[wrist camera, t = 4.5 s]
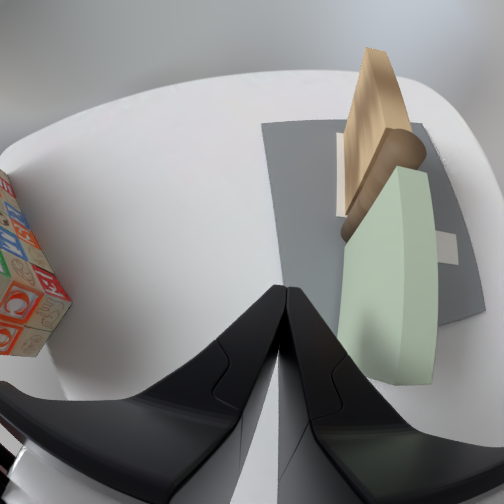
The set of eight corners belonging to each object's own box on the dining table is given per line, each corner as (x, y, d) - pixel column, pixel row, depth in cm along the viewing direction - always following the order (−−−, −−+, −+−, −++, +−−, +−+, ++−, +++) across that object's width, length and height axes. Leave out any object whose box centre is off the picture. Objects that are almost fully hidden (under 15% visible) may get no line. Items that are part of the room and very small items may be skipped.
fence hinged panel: (344, 246, 16) (396, 165, 8) (364, 249, 15) (426, 172, 8) (333, 366, 14) (395, 385, 6) (354, 367, 13) (431, 384, 6)
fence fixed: (365, 247, 16) (430, 167, 8) (340, 244, 16) (390, 157, 8) (361, 138, 19) (390, 47, 11) (340, 135, 19) (363, 40, 11)
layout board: (482, 311, 14) (486, 310, 14) (291, 355, 15) (291, 355, 14) (420, 126, 19) (422, 122, 19) (261, 127, 20) (261, 122, 19)
